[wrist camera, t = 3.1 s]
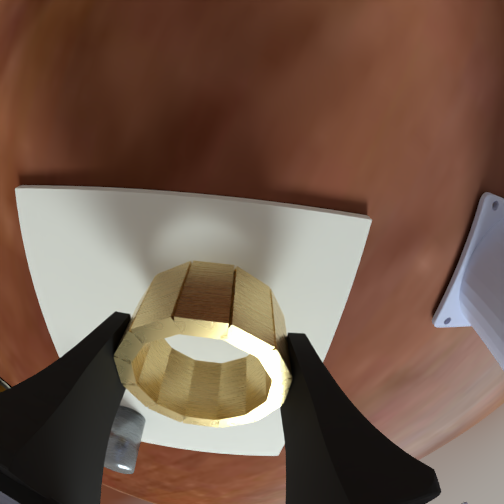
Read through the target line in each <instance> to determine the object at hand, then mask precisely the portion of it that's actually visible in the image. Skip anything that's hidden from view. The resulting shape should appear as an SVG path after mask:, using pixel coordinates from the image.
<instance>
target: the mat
mask: <svg viewBox="0 0 504 504" xmlns="http://www.w3.org/2000/svg"><path fill="white" fill-rule="evenodd" d="M15 192H16V201H17V208H18V215H19V221H20V227H21V232H22V238H23V243H24V248H25V252H26V257H27V261H28V265H29V269H30V273H31V277H32V280H33V284H34V287H35V291H36V294H37V298H38V301H39V304H40V307H41V310H42V313H43V316H44V319H45V322H46V324H47V327H48V330H49V333H50V335H51V338H52V340H53V343H54V345H55V348H56V350H57V353H58V355H59V357H62V356H63V355H64V354H66V353H67V352H68V351H69V350H71V349H72V348H73V347H74V346H76V345H77V344H78V343H79V342H80V341H82V340H83V339H84V338H85V337H86V336H87V335H89V334H90V333H91V332H92V331H93V330H94V329H95V328H97V327H98V326H99V325H100V324H101V323H102V322H103V321H105V320H106V319H107V318H108V317H109V316H110V315H112V314H113V313H114V312H115V311H117V312H122V313H128V314H130V315H131V317H132V315H133V313H134V311H135V309H136V307H137V305H138V303H139V301H140V299H141V298H142V296H143V294H144V293H145V291H146V290H147V288H148V286H149V285H150V283H151V282H152V280H153V279H154V277H155V275H156V276H157V274H159V273H161V272H164V271H166V270H168V269H171V268H173V267H176V266H179V265H181V264H184V263H186V262H189V261H191V262H192V263H193V260H194V261H203V262H212V263H221V264H230V265H234V269H235V268H236V266H238V267H240V268H241V269H243V270H244V271H246V272H247V273H249V274H250V275H252V276H254V277H255V278H257V279H258V280H260V281H261V282H263V283H265V284H266V285H268V286H269V287H270V289H272V291H273V294H274V296H275V298H276V300H277V302H278V304H279V306H280V308H281V311H282V313H283V315H284V318H285V325H286V333H287V335H288V332H289V333H305V334H306V336H307V337H308V339H309V341H310V342H311V344H312V346H313V348H314V349H315V351H316V353H317V354H318V356H319V357H320V359H321V361H322V362H323V361H324V359H325V356H326V354H327V351H328V349H329V346H330V344H331V341H332V339H333V336H334V334H335V331H336V329H337V326H338V323H339V321H340V318H341V315H342V312H343V310H344V307H345V304H346V301H347V299H348V296H349V293H350V290H351V287H352V284H353V281H354V278H355V275H356V272H357V269H358V266H359V262H360V259H361V256H362V253H363V249H364V246H365V243H366V239H367V236H368V232H369V229H370V225H371V221H372V219H371V218H370V217H369V216H368V215H362V214H356V213H350V212H343V211H337V210H330V209H324V208H317V207H310V206H303V205H296V204H288V203H280V202H272V201H264V200H256V199H247V198H238V197H229V196H219V195H209V194H198V193H187V192H174V191H161V190H147V189H131V188H113V187H90V186H52V185H21V186H19V187H17V188H15ZM164 339H165V340H166V341H167V343H168V344H169V345H170V346H171V348H173V349H175V350H177V351H179V352H180V353H182V354H184V355H186V356H188V357H190V358H192V359H194V360H199V361H207V362H215V363H224V362H228V361H232V360H236V359H240V358H243V357H247V356H248V355H249V354H250V353H248V352H246V351H244V350H242V349H240V348H238V347H236V346H234V345H232V344H230V343H228V342H226V341H224V340H222V339H213V338H204V337H196V336H188V335H181V334H178V335H174V336H171V337H167V338H164ZM120 406H125V407H128V408H131V409H133V410H135V411H137V412H139V413H140V414H141V415H142V416H143V417H144V418H145V420H146V422H145V426H144V430H143V434H142V438H141V441H143V442H147V443H152V444H157V445H163V446H168V447H174V448H181V449H187V450H195V451H203V452H212V453H223V454H237V455H260V456H278V455H279V453H280V451H281V449H282V448H283V446H284V444H285V440H284V433H283V426H282V418H281V411H280V407H278V408H277V409H275V410H274V411H272V412H271V413H269V414H267V415H266V416H264V417H263V418H261V419H259V420H258V421H256V420H255V422H251V423H245V424H240V425H234V426H228V427H222V428H221V427H220V426H219V428H218V427H209V426H200V425H193V424H186V423H183V421H182V422H178V421H176V420H173V419H171V418H169V417H166V416H164V415H162V414H160V413H157V412H155V411H153V410H151V409H149V408H148V407H145V406H144V405H143V404H142V403H141V402H140V401H139V400H138V399H137V398H136V397H135V396H134V395H132V394H131V393H130V392H129V391H128V390H127V389H126V390H125V393H124V395H123V398H122V400H121V403H120Z"/></svg>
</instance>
